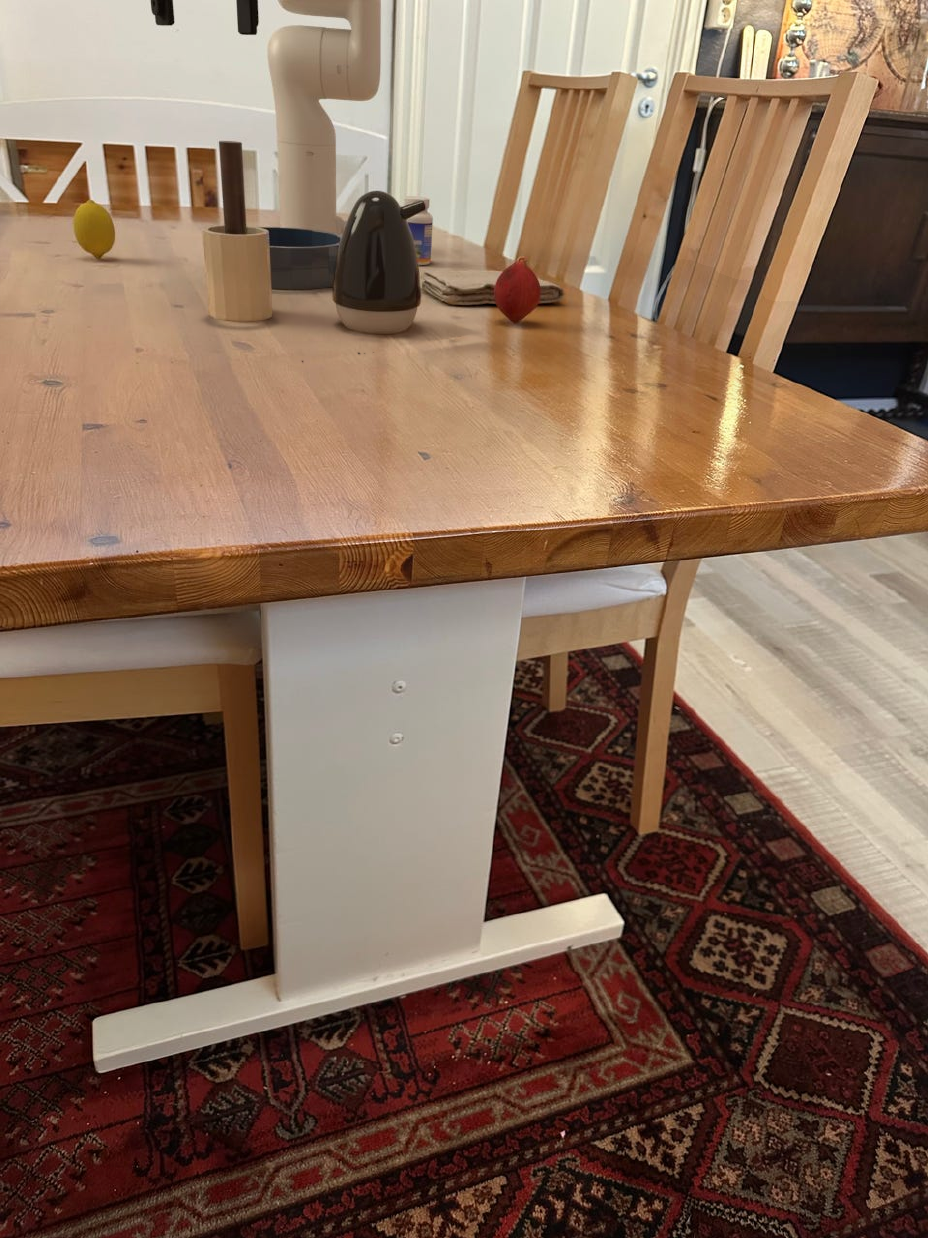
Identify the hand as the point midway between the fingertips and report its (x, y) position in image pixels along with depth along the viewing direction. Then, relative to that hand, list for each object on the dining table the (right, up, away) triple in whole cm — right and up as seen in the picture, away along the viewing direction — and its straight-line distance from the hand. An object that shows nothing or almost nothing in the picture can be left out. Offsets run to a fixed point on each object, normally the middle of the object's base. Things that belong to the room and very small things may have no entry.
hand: (207, 29), depth 97 cm
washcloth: (+31, -18, +30) cm, 47 cm away
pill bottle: (+20, -6, +49) cm, 54 cm away
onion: (+34, -26, +17) cm, 47 cm away
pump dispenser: (+18, -31, +8) cm, 36 cm away
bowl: (+3, -16, +29) cm, 34 cm away
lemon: (-26, -11, +35) cm, 45 cm away
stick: (+2, -28, +8) cm, 29 cm away
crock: (+2, -29, +9) cm, 30 cm away
